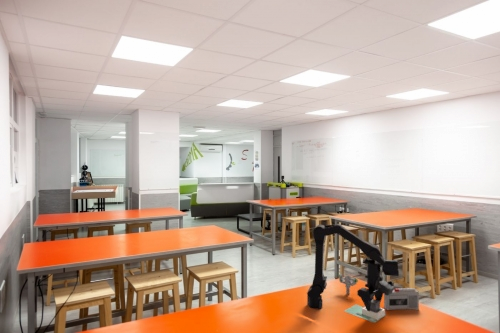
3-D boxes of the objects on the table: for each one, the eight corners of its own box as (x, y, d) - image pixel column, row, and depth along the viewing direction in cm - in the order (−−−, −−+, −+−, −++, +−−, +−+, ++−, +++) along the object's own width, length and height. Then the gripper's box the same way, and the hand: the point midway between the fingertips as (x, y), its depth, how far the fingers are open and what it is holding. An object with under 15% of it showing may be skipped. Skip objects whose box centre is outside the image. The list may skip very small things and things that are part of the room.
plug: (366, 313, 146) (366, 300, 146) (370, 311, 149) (370, 298, 149) (375, 317, 143) (375, 303, 143) (379, 314, 145) (379, 301, 145)
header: (361, 314, 146) (361, 308, 146) (369, 309, 151) (369, 304, 151) (377, 319, 140) (377, 314, 140) (385, 315, 145) (385, 309, 145)
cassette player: (386, 311, 151) (386, 290, 151) (384, 309, 153) (384, 288, 153) (418, 310, 152) (418, 289, 152) (415, 308, 154) (415, 287, 154)
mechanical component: (340, 292, 174) (340, 273, 174) (358, 297, 166) (358, 278, 166) (337, 293, 172) (337, 274, 172) (355, 299, 164) (355, 279, 164)
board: (343, 312, 149) (343, 310, 149) (355, 306, 156) (355, 303, 156) (374, 324, 138) (374, 322, 138) (386, 316, 145) (386, 314, 145)
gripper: (381, 283, 133) (381, 320, 133) (400, 273, 146) (400, 307, 146) (356, 276, 142) (356, 311, 142) (376, 267, 154) (376, 300, 154)
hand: (373, 307), depth 146 cm, fingers open, 9 cm apart
